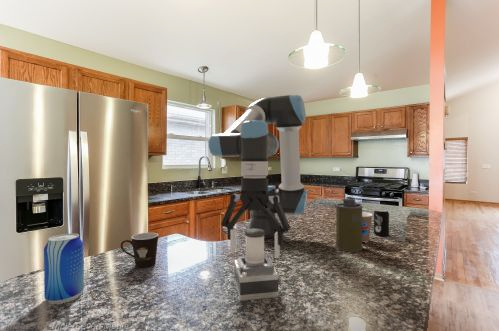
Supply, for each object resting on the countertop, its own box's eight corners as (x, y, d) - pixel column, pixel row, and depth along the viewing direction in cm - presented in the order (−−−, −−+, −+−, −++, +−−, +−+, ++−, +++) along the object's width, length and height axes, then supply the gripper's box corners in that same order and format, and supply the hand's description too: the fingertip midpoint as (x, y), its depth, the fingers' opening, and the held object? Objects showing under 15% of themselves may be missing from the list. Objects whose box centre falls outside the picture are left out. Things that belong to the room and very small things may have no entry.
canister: (349, 253, 102) (350, 201, 102) (330, 245, 112) (330, 198, 111) (369, 249, 107) (369, 199, 107) (348, 242, 117) (348, 196, 116)
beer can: (58, 290, 74) (57, 232, 74) (89, 289, 74) (89, 232, 74) (36, 307, 65) (35, 242, 65) (72, 305, 66) (71, 241, 66)
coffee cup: (347, 242, 116) (347, 214, 116) (348, 236, 126) (348, 210, 126) (373, 245, 112) (373, 216, 112) (372, 238, 122) (372, 212, 122)
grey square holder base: (234, 279, 80) (234, 255, 80) (267, 277, 82) (267, 253, 82) (240, 300, 68) (240, 271, 68) (278, 296, 70) (278, 268, 70)
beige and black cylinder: (242, 268, 73) (242, 232, 73) (249, 261, 78) (248, 228, 78) (261, 271, 71) (261, 234, 71) (266, 264, 76) (266, 229, 76)
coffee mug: (163, 261, 94) (163, 233, 94) (147, 271, 86) (146, 240, 86) (137, 258, 98) (137, 231, 98) (118, 266, 90) (118, 237, 90)
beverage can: (390, 237, 124) (390, 211, 124) (375, 236, 125) (375, 211, 125) (386, 233, 130) (386, 208, 130) (372, 232, 132) (372, 208, 131)
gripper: (209, 176, 75) (209, 253, 75) (296, 178, 67) (295, 264, 67) (220, 175, 82) (221, 245, 82) (300, 176, 74) (300, 254, 74)
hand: (254, 253), depth 75 cm, fingers open, 12 cm apart
